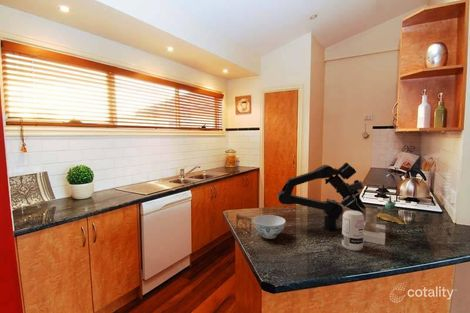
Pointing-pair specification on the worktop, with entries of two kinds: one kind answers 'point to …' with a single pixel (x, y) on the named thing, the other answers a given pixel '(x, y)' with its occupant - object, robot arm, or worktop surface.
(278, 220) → the chinaware
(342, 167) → the robot arm
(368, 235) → the white flat frame
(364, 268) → the worktop surface
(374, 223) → the block
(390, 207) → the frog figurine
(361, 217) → the supplement can
